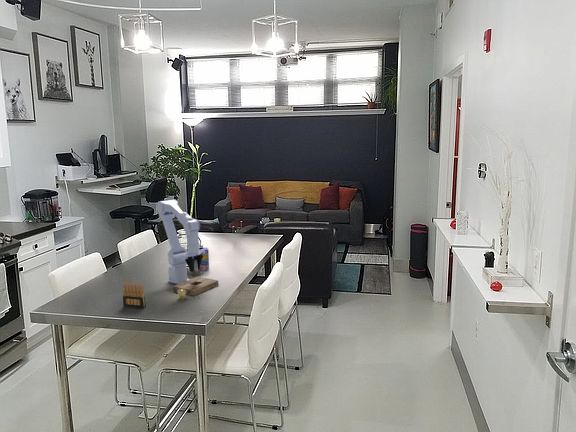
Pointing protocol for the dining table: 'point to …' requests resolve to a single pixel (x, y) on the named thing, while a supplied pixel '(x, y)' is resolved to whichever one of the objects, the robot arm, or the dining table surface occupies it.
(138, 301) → the ammunition clip
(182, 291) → the short pin
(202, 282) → the hole board
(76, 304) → the dining table surface
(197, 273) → the tall pin
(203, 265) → the ink cartridge box
